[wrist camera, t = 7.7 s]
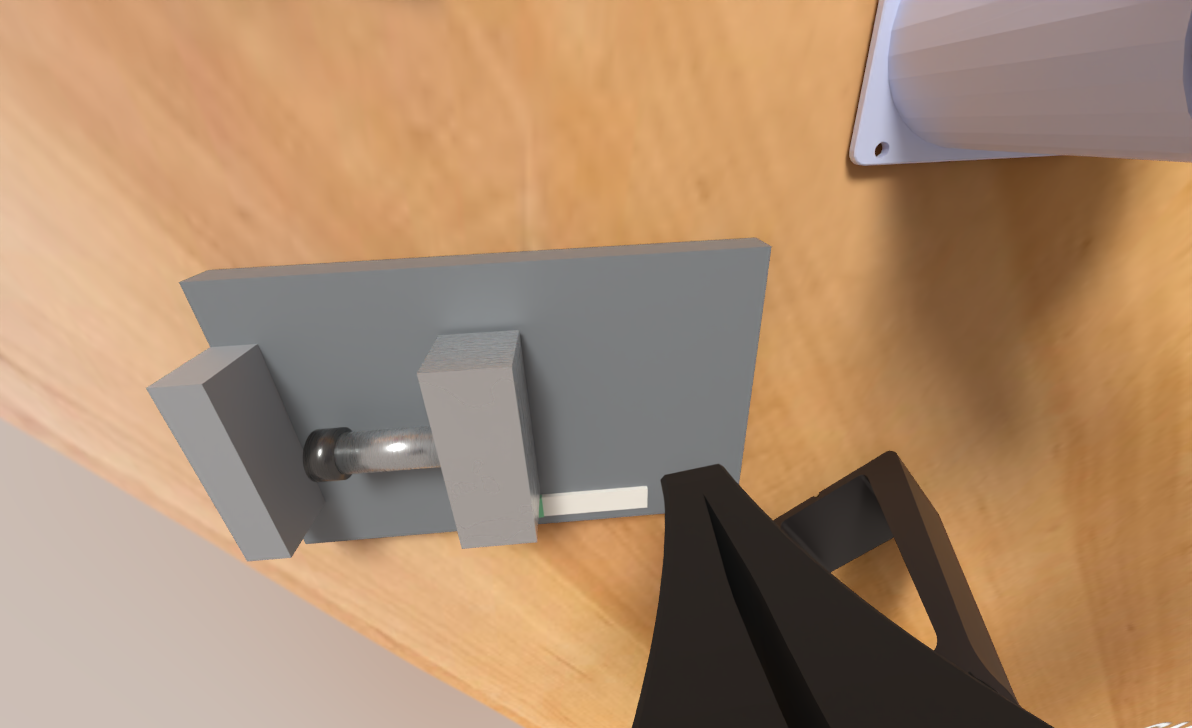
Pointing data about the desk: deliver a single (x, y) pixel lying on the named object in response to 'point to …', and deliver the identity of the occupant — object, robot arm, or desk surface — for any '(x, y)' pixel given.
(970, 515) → the desk surface
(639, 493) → the frame
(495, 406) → the gauge plunger
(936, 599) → the phone stand
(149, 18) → the desk surface
